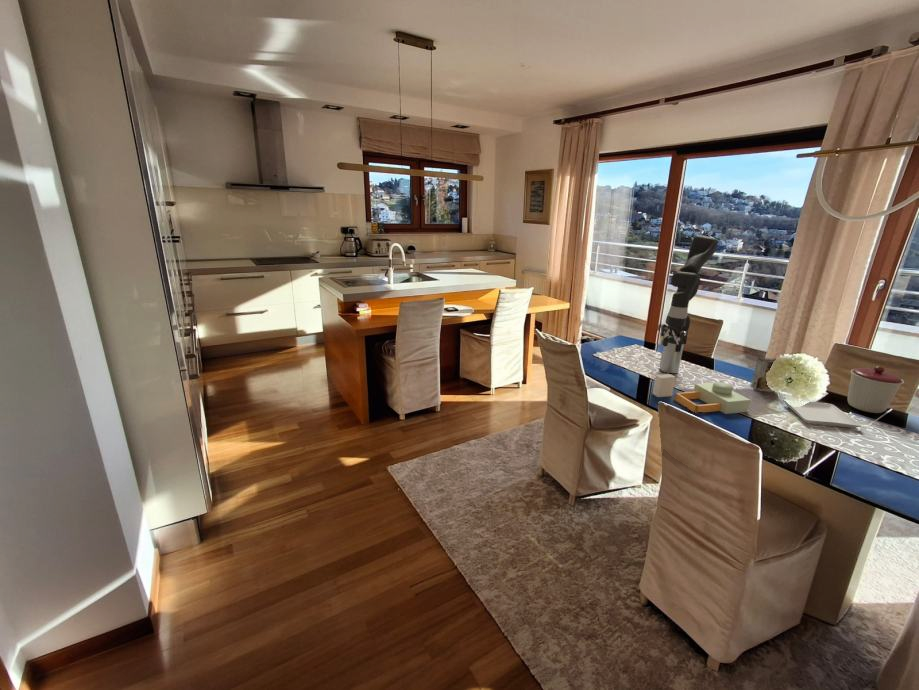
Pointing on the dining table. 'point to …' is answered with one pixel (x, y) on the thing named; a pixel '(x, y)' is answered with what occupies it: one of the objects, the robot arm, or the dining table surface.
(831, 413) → the salad plate
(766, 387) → the coffee box
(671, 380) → the white block
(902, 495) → the dining table surface
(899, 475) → the dining table surface
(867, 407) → the canister
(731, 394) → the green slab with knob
